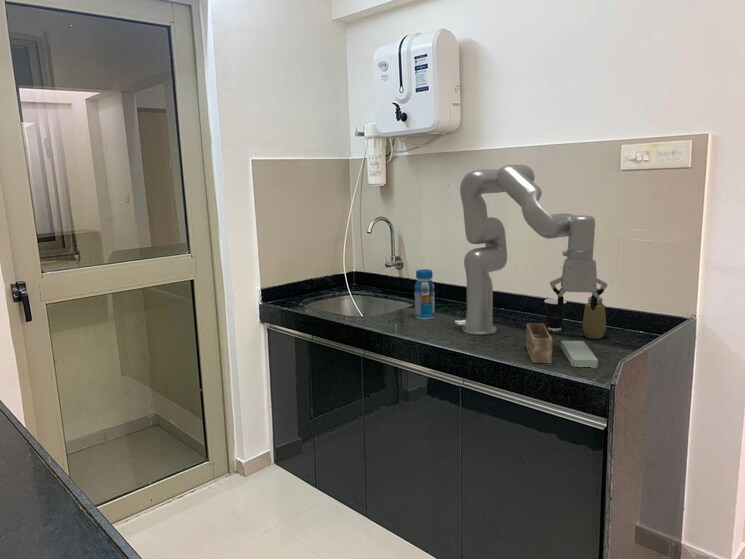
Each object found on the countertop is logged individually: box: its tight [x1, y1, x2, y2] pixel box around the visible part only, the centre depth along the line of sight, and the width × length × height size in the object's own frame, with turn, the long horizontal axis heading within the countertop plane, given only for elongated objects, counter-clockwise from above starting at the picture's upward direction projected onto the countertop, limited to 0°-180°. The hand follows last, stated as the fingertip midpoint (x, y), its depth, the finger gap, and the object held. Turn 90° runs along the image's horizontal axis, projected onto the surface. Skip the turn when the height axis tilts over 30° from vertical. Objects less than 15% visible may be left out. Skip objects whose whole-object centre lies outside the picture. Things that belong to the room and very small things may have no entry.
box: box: [525, 323, 553, 364], centre depth 183 cm, size 6×19×8 cm, turn 171°
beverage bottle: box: [414, 268, 436, 321], centre depth 235 cm, size 8×8×20 cm
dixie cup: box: [544, 298, 567, 332], centre depth 212 cm, size 8×8×11 cm
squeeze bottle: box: [581, 287, 607, 340], centre depth 200 cm, size 8×8×18 cm
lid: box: [560, 340, 599, 369], centre depth 179 cm, size 7×20×2 cm, turn 172°
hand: (576, 308), depth 179 cm, fingers open, 9 cm apart
